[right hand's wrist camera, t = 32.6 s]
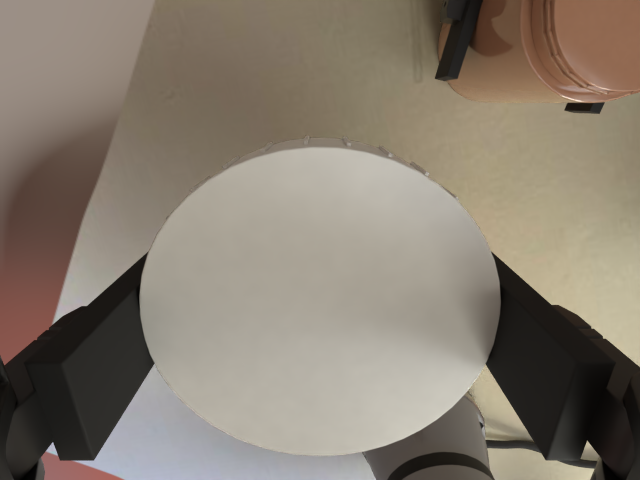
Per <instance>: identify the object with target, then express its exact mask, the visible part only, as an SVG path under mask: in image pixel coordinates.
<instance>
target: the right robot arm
mask: <svg viewBox="0 0 640 480" xmlns="http://www.w3.org/2000/svg"><path fill="white" fill-rule="evenodd" d="M491 253H492V252H491ZM147 255H148V252H147V253H146V254H145V255H144V256H143V257H142V258H141V259H140V260H138V261H137V262H136V263H135V264H134V265H133V266H132V267H131V268H129V269H128V270H127V271H126V272H125V273H124V274H123V275H122V276H120V277H119V278H118V279H117V280H116V281H115V282H114V283H113V284H111V285H110V286H109V287H108V288H107V289H106V290H105V291H104V292H102V293H101V294H100V295H99V296H98V297H97V298H96V299H95V300H93V301H92V302H91V303H90V304H89V305H88V306H81V307H79V308H78V309H76V310H74V311H72V312H70V313H68V314H66V315H64V316H63V317H61V318H60V319H59V320H58V321H57V322H55V323H54V324H53V325H52V326H51V327H49V330H46V331H45V332H44V333H42V334H41V335H40V336H39V337H38V338H37V340H34V341H33V342H32V343H31V344H29V345H28V346H27V347H26V348H25V349H23V350H22V351H21V352H20V353H19V354H18V355H16V356H15V357H14V358H13V359H12V360H10V361H9V362H8V363H7V364H6V365H4V364H3V361H2V359H1V356H0V480H44V475H45V470H44V464H43V462H42V459H41V456H42V455H43V454H44V453H45V451H46V450H47V449H48V447H49V446H50V445H51V444H52V442H53V443H54V445H55V448H56V451H57V454H58V456H59V459H60V460H94V459H95V458H96V456H97V455H98V453H99V451H100V450H101V448H102V447H103V445H104V443H105V442H106V440H107V439H108V437H109V435H110V434H111V432H112V431H113V429H114V427H115V426H116V424H117V423H118V421H119V419H120V418H121V416H122V415H123V413H124V411H125V410H126V408H127V407H128V405H129V403H130V402H131V400H132V399H133V397H134V395H135V394H136V392H137V391H138V389H139V387H140V386H141V384H142V383H143V381H144V379H145V378H146V376H147V375H148V373H149V371H150V370H151V368H152V367H153V365H154V361H153V359H152V357H151V355H150V353H149V350H148V347H147V344H146V341H145V337H144V332H143V328H142V323H141V318H140V304H139V293H140V285H141V277H142V272H143V269H144V265H145V262H146V258H147ZM492 255H493V258H494V260H495V264H496V269H497V273H498V277H499V282H500V297H501V308H500V317H499V322H498V327H497V331H496V336H495V341H494V345H493V347H492V350H491V352H490V355H489V357H488V360H487V362H486V365H487V367H488V369H489V370H490V372H491V373H492V375H493V377H494V378H495V380H496V381H497V383H498V385H499V386H500V388H501V389H502V391H503V393H504V394H505V396H506V397H507V399H508V401H509V402H510V404H511V405H512V407H513V409H514V410H515V412H516V413H517V415H518V417H519V418H520V420H521V421H522V423H523V425H524V426H525V428H526V429H527V431H528V433H529V434H530V436H531V437H532V439H533V441H534V442H535V443H532V442H528V441H521V440H512V441H497V440H485V425H484V420H483V417H482V414H481V412H480V410H479V408H478V406H477V405H476V403H475V401H474V399H473V398H472V396H471V395H470V394H469V393H468V392H466V393H465V394H464V395H463V396H462V397H461V398H460V400H459V401H458V402H457V403H456V404H455V405H454V406H453V407H452V408H450V409H449V410H448V411H447V412H445V413H444V414H443V415H442V416H441V417H439V418H438V419H437V420H435V421H434V422H432V423H431V424H429V425H428V426H426V427H424V428H423V429H421V430H420V431H418V432H416V433H414V434H412V435H410V436H408V437H406V438H404V439H401V440H399V441H396V442H393V443H391V444H388V445H386V446H382V447H379V448H375V449H371V450H368V451H363V452H362V453H363V455H364V457H365V458H366V460H367V462H368V463H369V465H370V467H371V469H372V471H373V474H374V476H375V478H376V480H494V478H493V475H492V473H491V471H490V467H489V459H488V451H487V448H500V449H509V448H524V449H529V450H533V451H537V452H540V453H542V455H543V457H544V458H545V460H557V461H560V462H563V463H565V464H569V465H573V466H578V467H584V468H594V472H593V474H592V477H591V479H590V480H640V367H639V366H638V365H636V364H635V363H634V362H633V361H632V360H630V359H629V358H628V357H627V356H626V355H624V354H623V353H622V352H621V351H620V350H619V349H617V348H616V347H615V346H614V345H613V344H611V343H610V342H609V341H608V340H607V339H603V336H602V335H601V334H599V333H598V332H597V331H596V330H595V329H591V326H590V325H589V324H587V323H586V322H585V321H584V320H583V319H582V318H580V317H579V316H578V315H576V314H575V313H573V312H571V311H569V310H567V309H565V308H563V307H561V306H559V305H551V304H550V303H549V302H547V301H546V300H545V299H544V298H543V297H542V296H541V295H540V294H538V293H537V292H536V291H535V290H534V289H533V288H532V287H531V286H529V285H528V284H527V283H526V282H525V281H524V280H523V279H522V278H520V277H519V276H518V275H517V274H516V273H515V272H514V271H513V270H511V269H510V268H509V267H508V266H507V265H506V264H505V263H504V262H502V261H501V260H500V259H499V258H498V257H497V256H496V255H495V254H493V253H492ZM587 441H588V442H589V443H590V444H591V446H592V447H593V448H594V449H595V451H596V452H597V453H598V455H599V456H600V457H599V459H598V461H589V460H581V459H580V458H581V455H582V453H583V450H584V447H585V445H586V442H587Z"/></svg>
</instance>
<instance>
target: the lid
mask: <svg viewBox="0 0 640 480" xmlns="http://www.w3.org/2000/svg"><path fill="white" fill-rule="evenodd" d="M222 168H223V169H222V170H220V171H219V172H218V173H216V174H215V175H213V176H212V177H211V176H209V177H207V178H206V179H204V180H203V181H201V182H200V183H199V184H197V185H196V186H194V187H193V188H192V189H190V191H191V193H190V194H189V195H188V196H187V197H186V198H185V199H184V200H183V201H182V202H181V203H180V204H179V205H178V206H177V207H176V208H175V209H174V211H173V212H172V213H171V214H170V215H169V216H167V218H166V221H165V223H164V224H163V226H162V227H161V229H160V230H159V231H158V233H157V235H156V237H155V239H154V241H153V244H152V246H151V248H150V250H149V252H148V255H147V258H146V262H145V265H144V269H143V272H142V277H141V285H140V293H139V304H140V318H141V323H142V328H143V332H144V337H145V341H146V344H147V347H148V350H149V353H150V355H151V357H152V359H153V361H154V363H155V365H156V367H157V369H158V371H159V373H160V374H161V376H162V377H163V378H164V380H165V381H166V383H167V384H168V386H169V387H170V388H171V390H172V391H173V392H174V393H175V394H176V395H177V396H178V397H179V399H180V400H181V401H182V402H183V403H184V404H185V405H186V406H188V407H189V408H190V409H191V410H192V411H193V412H194V413H196V414H197V415H198V416H199V417H201V418H202V419H204V420H205V421H206V422H208V423H209V424H211V425H212V426H214V427H215V428H217V429H219V430H221V431H223V432H224V433H226V434H228V435H230V436H232V437H234V438H237V439H239V440H241V441H244V442H246V443H249V444H252V445H255V446H258V447H261V448H265V449H268V450H273V451H277V452H282V453H287V454H296V455H305V456H333V455H346V454H352V453H357V452H363V451H368V450H371V449H375V448H379V447H382V446H386V445H388V444H391V443H393V442H396V441H399V440H401V439H404V438H406V437H408V436H410V435H412V434H414V433H416V432H418V431H420V430H421V429H423V428H424V427H426V426H428V425H429V424H431V423H432V422H434V421H435V420H437V419H438V418H439V417H441V416H442V415H443V414H444V413H445V412H447V411H448V410H449V409H450V408H452V407H453V406H454V405H455V404H456V403H457V402H458V401H459V400H460V398H461V397H462V396H463V395H464V394H465V393H466V392H467V391H468V389H469V388H470V387H471V385H472V384H473V383H474V382H475V380H476V379H477V378H478V376H479V374H480V372H481V371H482V369H483V367H484V365H485V364H486V362H487V360H488V357H489V355H490V352H491V350H492V347H493V345H494V341H495V336H496V331H497V327H498V322H499V317H500V308H501V297H500V282H499V277H498V273H497V269H496V264H495V260H494V258H493V255H492V253H491V250H490V248H489V245H488V243H487V241H486V239H485V237H484V235H483V234H482V232H481V230H480V228H479V227H478V225H477V224H476V222H475V220H474V219H473V218H472V217H471V216H470V214H469V213H468V212H467V211H466V210H465V208H464V207H463V206H462V205H461V204H460V202H459V201H458V200H459V199H458V198H457V197H456V196H455V195H454V194H452V193H451V192H449V191H448V190H447V189H445V188H444V187H442V186H441V185H439V184H438V183H436V182H435V181H434V180H432V179H431V178H429V177H428V175H429V173H428V172H427V171H425V170H424V169H422V168H421V167H419V166H418V165H416V164H415V163H413V162H411V163H410V164H409V163H407V162H406V161H404V160H403V159H401V158H400V157H398V156H395V155H393V154H392V153H391V152H389V151H388V150H387V149H385V148H384V147H383V146H380V145H379V148H377V147H374V146H371V145H367V144H364V143H361V142H357V141H351V140H349V139H348V138H347V137H345V136H343V139H338V138H309V135H306V136H305V138H304V139H295V140H288V141H284V142H280V143H276V144H273V142H269V143H268V144H267V145H265V146H264V147H263V148H261V149H258V150H256V151H253V152H251V153H248V154H246V155H244V156H243V157H241V158H240V157H239V156H236V157H235V158H233V159H232V160H230V161H229V162H227V163H226V164H225V165H223V166H222Z"/></svg>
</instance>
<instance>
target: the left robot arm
mask: <svg viewBox="0 0 640 480" xmlns="http://www.w3.org/2000/svg"><path fill="white" fill-rule="evenodd" d="M482 2H483V0H444V1H443V4H442V8H441V11H440V22H443V23H447V24H451V27H450V30H449V34H448V37H447V40H446V43H445V47H444V50H443V53H442V57H441V60H440V63H439V66H438V70H437V73H436V76H435V79H438V80H442V81H448V80H454V79H458V76H459V73H460V70H461V67H462V64H463V61H464V58H465V55H466V52H467V48H468V45H469V42H470V39H471V36H472V33H473V30H474V27H475V24H476V21H477V18H478V15H479V12H480V8H481V5H482ZM604 103H605V102H599V103H567V106H566V108H565V111H569V112H573V113H594V114H600V111H601V109H602V107H603V105H604Z"/></svg>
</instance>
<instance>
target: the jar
mask: <svg viewBox="0 0 640 480" xmlns="http://www.w3.org/2000/svg"><path fill="white" fill-rule="evenodd" d="M450 27H451V24H447V23H443V24H442V28H441V31H440V36H439V43H438V55H439V62H440V60H441V57H442V53H443V50H444V47H445V43H446V40H447V37H448V34H449V30H450ZM447 82H448V83H449V85H450V86H451V87H452V88H453V89H454V90H455V91H456V92H457V93H458V94H460V95H461V96H463V97H465V98H467V99H469V100H472V101H476V102H486V103H599V102H606V101H611V100H616V99H619V98H622V97H625V96H628V95H630V94H635V93H638V92H640V0H483V2H482V5H481V8H480V12H479V15H478V18H477V21H476V24H475V27H474V30H473V33H472V36H471V39H470V42H469V45H468V48H467V52H466V55H465V58H464V61H463V64H462V67H461V70H460V73H459V76H458V79H454V80H448V81H447Z"/></svg>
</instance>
